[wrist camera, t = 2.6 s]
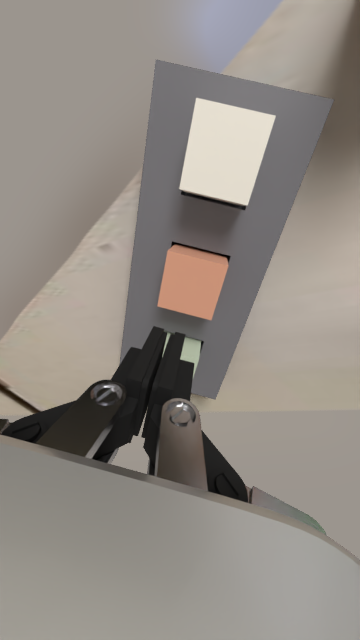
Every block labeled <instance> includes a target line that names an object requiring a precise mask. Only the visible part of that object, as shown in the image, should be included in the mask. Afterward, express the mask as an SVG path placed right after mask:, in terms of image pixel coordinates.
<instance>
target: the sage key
mask: <svg viewBox="0 0 360 640" xmlns="http://www.w3.org/2000/svg"><path fill="white" fill-rule="evenodd" d="M164 332H167V337H166V342H165V346H164V351H165V348H166V345H167V342H168V339H169V337H170V334H175V333H171V332H168V331H164ZM200 347H201V340H198V339H194V338H190V337H186V336H185V340H184V344H183V349H182V353H181V358H180V359H181V360H185V361H189V362H192V363H194V373H193V377H194V374H195V371H196V367H197V364H198V361H199V356H200ZM164 351H163V354H164ZM162 357H163V355H162Z"/></svg>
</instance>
